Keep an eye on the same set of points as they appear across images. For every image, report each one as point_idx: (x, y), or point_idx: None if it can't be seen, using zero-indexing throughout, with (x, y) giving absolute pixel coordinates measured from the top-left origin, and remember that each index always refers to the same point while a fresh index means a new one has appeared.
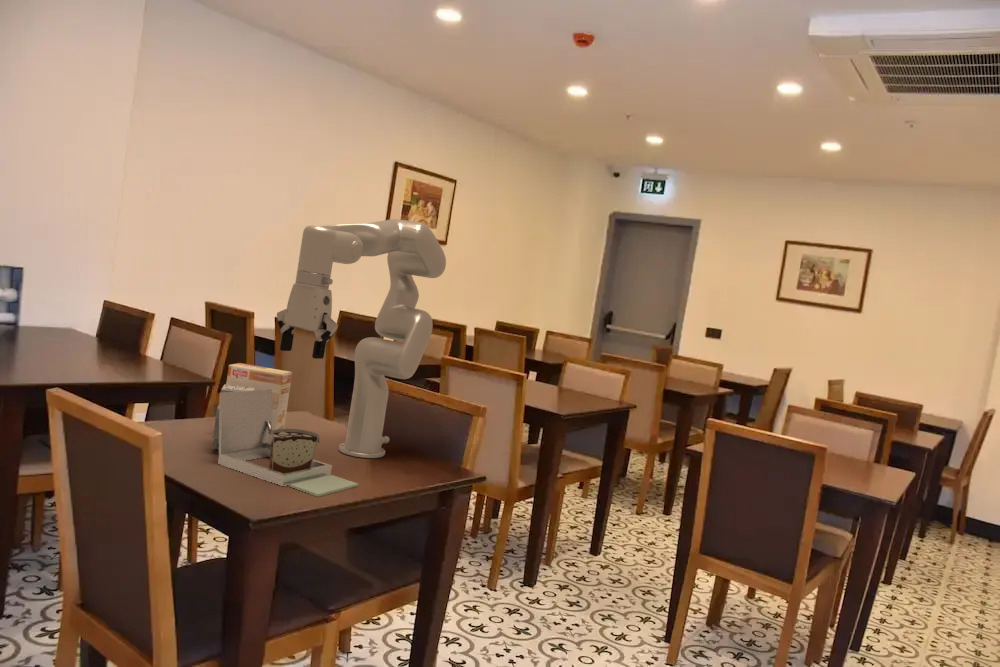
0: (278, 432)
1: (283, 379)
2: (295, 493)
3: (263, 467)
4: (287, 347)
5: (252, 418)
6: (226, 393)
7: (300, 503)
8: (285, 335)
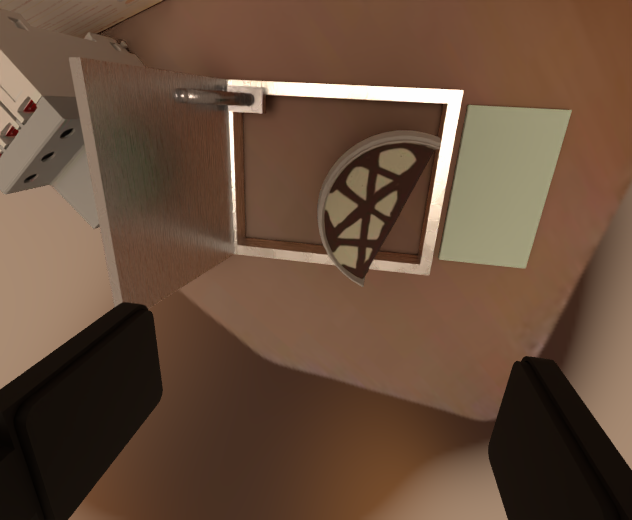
0: (324, 215)
1: None
2: (471, 280)
3: None
4: (141, 368)
5: (177, 168)
6: None
7: (515, 321)
8: (66, 510)
